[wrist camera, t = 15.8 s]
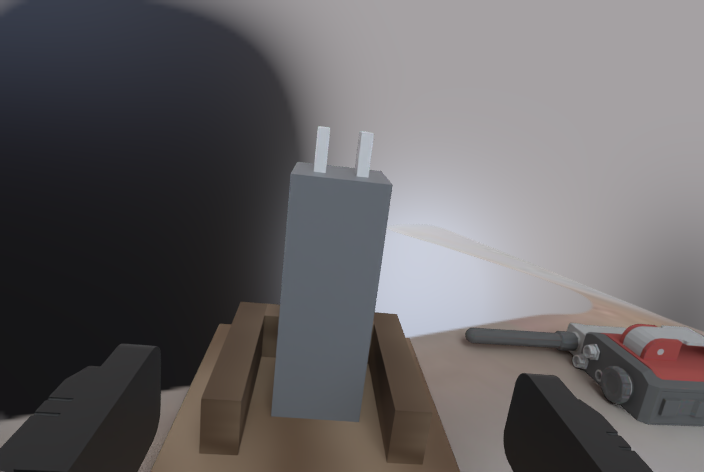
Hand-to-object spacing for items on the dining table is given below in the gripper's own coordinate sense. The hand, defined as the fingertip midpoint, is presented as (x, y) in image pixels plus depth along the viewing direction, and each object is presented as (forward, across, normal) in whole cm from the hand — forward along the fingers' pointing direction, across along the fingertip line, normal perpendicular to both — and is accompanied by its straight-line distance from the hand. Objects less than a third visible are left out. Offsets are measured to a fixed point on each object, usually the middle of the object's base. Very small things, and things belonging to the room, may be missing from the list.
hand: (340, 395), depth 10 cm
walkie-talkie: (+16, -20, +9) cm, 27 cm away
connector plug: (+11, 0, +8) cm, 13 cm away
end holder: (+11, 0, +8) cm, 14 cm away
